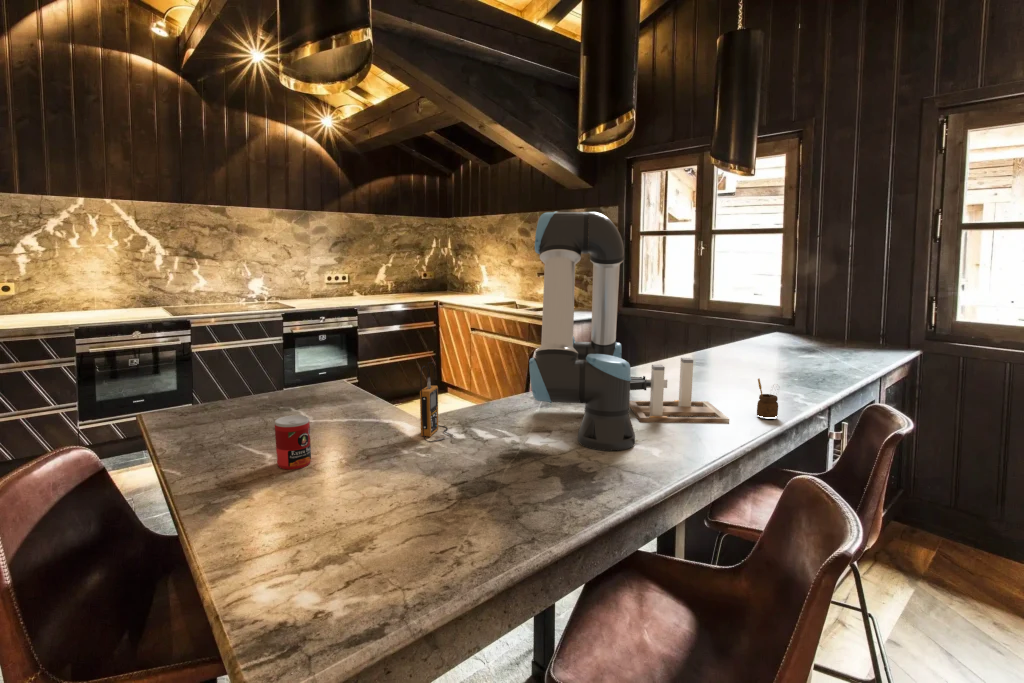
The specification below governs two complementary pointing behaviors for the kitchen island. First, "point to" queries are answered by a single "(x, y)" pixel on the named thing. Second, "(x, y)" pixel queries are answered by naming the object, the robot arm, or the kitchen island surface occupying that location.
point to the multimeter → (429, 409)
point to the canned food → (293, 442)
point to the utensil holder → (767, 403)
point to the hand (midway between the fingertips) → (666, 383)
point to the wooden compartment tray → (679, 412)
